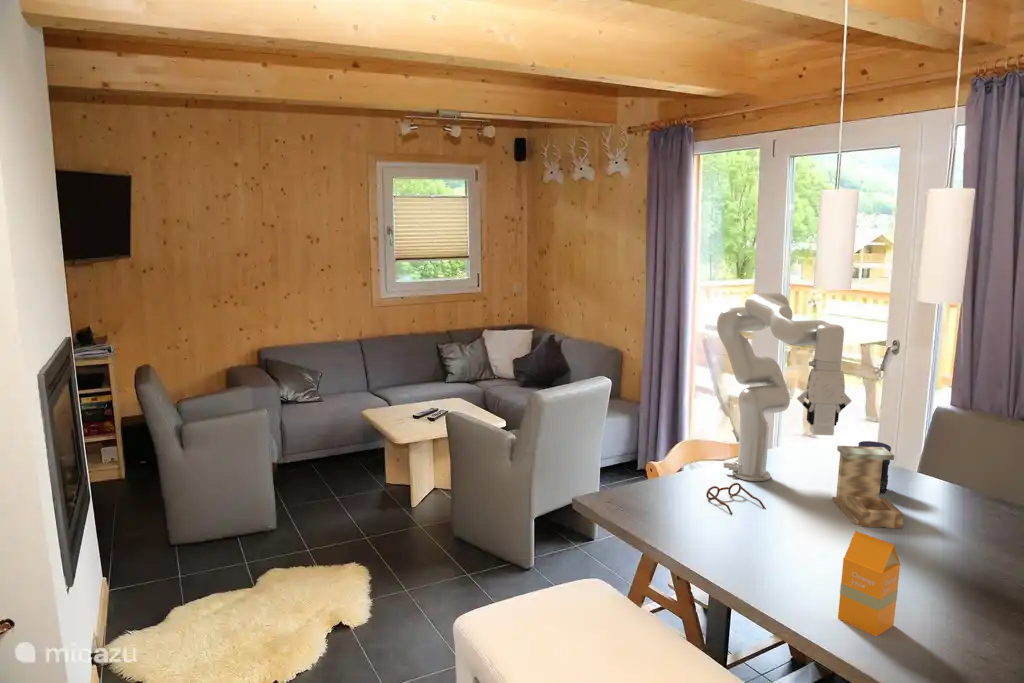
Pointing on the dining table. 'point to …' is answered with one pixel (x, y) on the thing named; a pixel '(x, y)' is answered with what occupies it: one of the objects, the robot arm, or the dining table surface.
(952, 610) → the dining table surface
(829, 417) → the skincare box
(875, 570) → the orange juice
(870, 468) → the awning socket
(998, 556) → the dining table surface
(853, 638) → the dining table surface
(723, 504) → the glasses
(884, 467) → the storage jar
